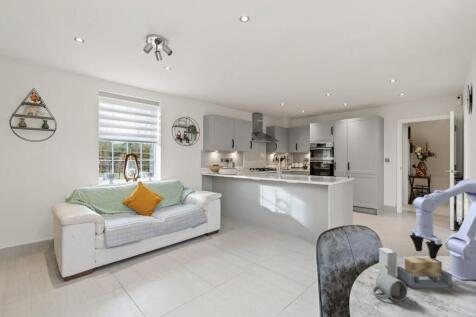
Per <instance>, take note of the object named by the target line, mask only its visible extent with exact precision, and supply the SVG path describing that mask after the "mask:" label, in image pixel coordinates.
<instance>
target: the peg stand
mask: <svg viewBox="0 0 476 317" xmlns="http://www.w3.org/2000/svg"><path fill="white" fill-rule="evenodd" d="M396 278H397V279H399V280H401V281H402V282H404V283H405V285H406V286H407V287H409V288H411V289H416V288H417V289H421V288H424V289H425V288H453V275H451V274H450V273H448V272H446V271H445V270H444V269H442V276H429V277H414V275H412V274H411V273H409V272H408V271H406V270H405V268H403V267H401V266H396Z"/></svg>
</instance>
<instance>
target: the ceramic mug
mask: <svg viewBox="0 0 476 317" xmlns="http://www.w3.org/2000/svg"><path fill="white" fill-rule="evenodd" d="M375 285H376V286H374V287H373V288H372V294H373V295H374V297H375V298H377V299H378V300H386V299H389V298H390V299H391V301H393V302H397V303H399V302H402V301H404V300H405V299H406V297H407V296H408V295H407V294H408V286H407V285H406V284H405V283H404V282H402V281H401V280H400V279H398V278H397V277H396V278H394V277H392V276H391V275H388V274H384V273H383V274H378V276H377V277H376V280H375ZM378 290H380V292H381V293H383V294H381V295H380V294H377V293H376V292H377V291H378Z"/></svg>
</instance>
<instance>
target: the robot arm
mask: <svg viewBox="0 0 476 317" xmlns="http://www.w3.org/2000/svg"><path fill="white" fill-rule="evenodd" d="M462 194H465V195H466V196H468V198H469V199H471V201H472V203H471V204H470V206H469V208H468V211H467V212H466V216H465V217H464V219H463V221H462V223H461V225H460V227H459V229H458V231H457V232H454V233H451V234H450V236H449V237H448V238H447V239H446V240H445V242H444V246H445V248H446V249H447V250H448V253H449V261H450V263H449V264H450V269H445V270H444V271H445V272H447V273H449V274H451V275H452V277H453V276H454V277H456V278H457V279H459V280H461V281H466V280H467V281H468V280H470V281H471V280H476V239H475V238H476V179H470V178H465V179H463V180H459V183H457V184H455V185H452V186H451V187H449V188H447V189H445V190H439V189H436V190H433V192H431V193H429V194H425V195H424V196H423V197H421V196H418V197H416V198H415V199H414V200H413V202H412V204H411V205H412V206H413V208H414V210H415V213H416V214H415V216H416V217H415V219H416V220H415V221H416V229H415V228H412V229H410V234H409V237H410V239H411V240H412V243H413V245H414V248H415V251H416V252H422V251H423V242H424V239H425V240H427V241H426V242H425V244H426V247H427V250H428V256H429V258H431V259H434V258H435V259H436V258H437V256H438V254H439V253H438V252H439V251H440V249H441V248H442V246H443V243H442V239H441V238H439V237H437V236H436V235H434V219H433V216H434V214H433V212H435V210H436V209H437V207H439V206H441V205H443V204H446V203H448V202H450V199H451V198H453V197H456V196H458V195H462Z"/></svg>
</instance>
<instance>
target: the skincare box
mask: <svg viewBox="0 0 476 317" xmlns="http://www.w3.org/2000/svg"><path fill="white" fill-rule="evenodd" d="M378 251H379V252H378V253H379V254H378V273H379V274H378V275H380V274H383V273H384V274H388V275H391V276H392V277H394V278H397V259H398V258H397V256H398V254H397V252H396V251H394V250H392V249H390V248H389V247H379V249H378Z"/></svg>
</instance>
